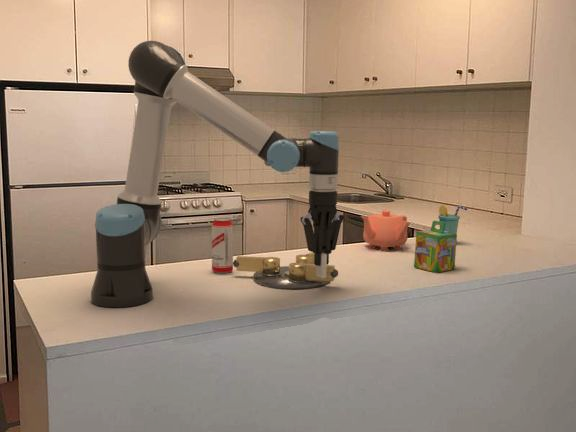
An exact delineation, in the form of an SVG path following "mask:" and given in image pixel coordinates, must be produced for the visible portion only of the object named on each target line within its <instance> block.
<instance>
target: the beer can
mask: <svg viewBox="0 0 576 432" xmlns="http://www.w3.org/2000/svg"><path fill="white" fill-rule="evenodd" d="M233 234H234V227H233V222H232V219H231V218H228V217H216V218H213V222H212V223H211V270H212V272H214V274H216V273H217V274H216V275H226V274H227V273H228V274H230V273H232V271H233V270H234V266H233V262H234V246H233V245H234V239H233V238H234V235H233ZM228 274H227V275H228Z"/></svg>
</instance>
